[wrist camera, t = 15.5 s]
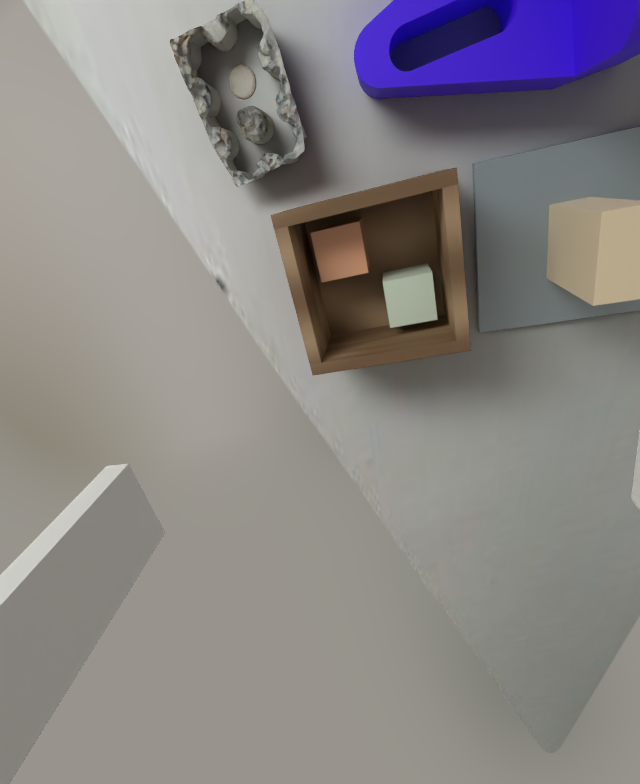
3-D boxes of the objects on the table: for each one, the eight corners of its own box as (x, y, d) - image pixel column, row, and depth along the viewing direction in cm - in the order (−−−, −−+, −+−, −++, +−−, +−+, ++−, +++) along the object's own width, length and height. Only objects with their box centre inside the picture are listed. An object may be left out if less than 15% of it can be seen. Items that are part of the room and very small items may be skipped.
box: (292, 208, 36) (270, 215, 29) (441, 170, 33) (456, 167, 26) (324, 342, 42) (312, 375, 35) (454, 320, 39) (470, 350, 32)
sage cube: (382, 272, 37) (382, 282, 33) (427, 263, 36) (432, 272, 32) (389, 314, 39) (390, 327, 35) (432, 306, 38) (437, 319, 34)
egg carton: (186, 49, 32) (161, 32, 29) (271, 4, 30) (256, -20, 27) (238, 190, 37) (222, 190, 33) (316, 159, 35) (308, 155, 31)
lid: (471, 163, 33) (503, 157, 25) (673, 118, 30) (792, 93, 22) (477, 329, 40) (504, 371, 31) (645, 305, 36) (729, 344, 28)
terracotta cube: (317, 228, 36) (310, 233, 32) (361, 217, 35) (359, 221, 32) (327, 273, 38) (321, 282, 34) (369, 264, 37) (368, 272, 33)
